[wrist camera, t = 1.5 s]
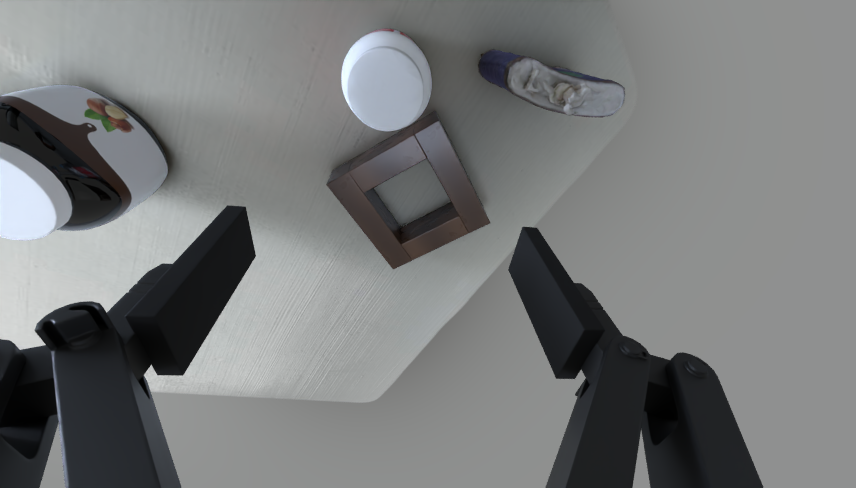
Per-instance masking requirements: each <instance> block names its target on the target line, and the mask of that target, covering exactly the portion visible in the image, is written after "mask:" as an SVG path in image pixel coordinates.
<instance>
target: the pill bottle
mask: <svg viewBox="0 0 856 488" xmlns="http://www.w3.org/2000/svg"><path fill="white" fill-rule="evenodd" d="M341 81H342V89H343V93H344V96H345V99H346V101H347V103H348V105H349V107H350V108H351V110H352V111H353V112H354V114H355V115H356V116H357V117H358V118H359V119H360V120H361V121H362V122H363V123H365V124H366V125H368V126H369V127H371V128H373V129H376V130H380V131H395V130H399V129H401V128H404V127H406V126H408V125H410V124H412V123H413V122H414V121H416V120H417V119H418V118H419V117H420V116H421V115H422V113H423V112H424V110H425V109H426V107H427V105H428V102H429V99H430V96H431V90H432V77H431V71H430V67H429V64H428V62H427V59H426V58H425V56H424V54H423V52H422V51H421V49H420V48H419V47H418V46H417V45H416V44H415V42H414V41H413V40H412V39H411V38H410V37H409V36H407V35H406V34H404V33H402V32H400V31H397V30H394V29H379V30H375V31H373V32H371V33H369V34H367V35H365V36H363V37H362V38H360V39H359V40H358V41H357V42H356V43H355V44H354V45H353V46H352V47H351V49H350V50H349V52H348V54H347V56H346V58H345V60H344V63H343V68H342V76H341Z"/></svg>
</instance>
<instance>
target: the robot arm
mask: <svg viewBox="0 0 856 488" xmlns="http://www.w3.org/2000/svg"><path fill="white" fill-rule="evenodd" d="M255 257H256V254H255V250H254V245H253V240H252V235H251V230H250V226H249V221H248V216H247V211H246V207H241V206H226V208H225V209H224V210H223V211H222V212H221V213H220V214H219V215H218V216H217V217H216V218H215V219H214V220H213V222H212V223H211V224H210V225H209V226H208V227H207V228H206V229H205V230H204V231H203V232H202V233H201V234H200V235H199V237H198V238H197V239H196V240H195V241H194V242H193V243H192V244H191V245H190V246H189V247H188V248H187V249H186V251H185V252H184V253H183V254H182V255H181V256H180V257H179V258H178V259H177V260H176V261H175V262H174V263H173V264H161V265H159V266H157V267H156V268H154V269H152V270H150V271H149V272H147V273H146V274H145V275H144V276H143V277H142V278H141V279H140V280H139V281H138V282H137V284H135V285H134V286H133V287H132V288H131V289H130V290H129V293H126V294H125V295H124V296H123V297H122V298H121V299H120V300H119V301H118V302H117V303H116V304H115V305H114V306H113V307H112V308H111V309H110V310H109V311H108V312H107V313H106V311H105V310H104V308H103V307H102V306H101V304H99V303H96V302H78V303H74V304H70V305H67V306H64V307H61V308H59V309H56V310H54V311H53V312H51V313H49V314H48V315H46V316H45V317H44V318H43V319H42V320H40V321H39V322H38V323H37V326H36V328H35V332H36V333H37V334H38V335H39V337H40V338H41V339H42V340H43V342H44V343H45V344H46V345H45V346H39V347H34V348H29V349H23V350H19V349H18V347H17V346H16V345H15V344H14V343H12V342H11V341H10V340H1V339H0V488H39V487H40V483H41V480H42V477H43V473H44V470H45V466H46V463H47V460H48V456H49V453H50V449H51V445H52V442H53V439H54V435H55V432H56V428H57V425H58V422H59V431H60V441H61V451H62V461H63V470H64V480H65V488H181V485H180V481H179V478H178V475H177V472H176V469H175V466H174V463H173V460H172V457H171V454H170V451H169V448H168V445H167V442H166V438H165V435H164V432H163V429H162V426H161V423H160V420H159V417H158V414H157V410H156V407H155V404H154V401H153V398H152V395H151V392H150V389H149V386H148V383H147V380H146V378H145V377H144V374H145V372H146V371H147V370H148V368H149V367H150V365H151V364H152V366H153V368H154V370H155V372H156V373H157V375H184V373H185V371H186V370H187V368H188V366H189V365H190V363H191V362H192V360H193V358H194V357H195V355H196V353H197V352H198V350H199V348H200V347H201V345H202V343H203V342H204V340H205V339H206V337H207V335H208V334H209V332H210V330H211V329H212V327H213V325H214V324H215V322H216V321H217V319H218V317H219V316H220V314H221V312H222V311H223V309H224V307H225V306H226V304H227V302H228V301H229V299H230V298H231V296H232V294H233V293H234V291H235V289H236V288H237V286H238V284H239V283H240V281H241V280H242V278H243V276H244V275H245V273H246V271H247V270H248V268H249V266H250V265H251V263H252V261H253V260H254V258H255ZM509 272H510V274H511V277H512V279H513V281H514V284H515V285H516V288H517V290H518V293H519V295H520V297H521V299H522V302H523V304H524V306H525V309H526V311H527V313H528V315H529V318H530V320H531V322H532V324H533V327H534V329H535V331H536V334H537V336H538V338H539V340H540V343H541V345H542V347H543V349H544V352H545V354H546V356H547V358H548V361H549V363H550V365H551V368H552V370H553V372H554V374H555V377H556V378H557V379H575V378H576V376H577V375H578V373H579V372H580V370H581V369H582V371H583V373H584V375H585V377H586V379H585V380H584V382H583V383H582V385H581V386H580V388H579V389H578V391H577V392H576V394H575V395H576V396H578V397H577V400H576V403H575V406H574V409H573V412H572V414H571V417H570V420H569V423H568V426H567V428H566V432H565V434H564V437H563V440H562V443H561V445H560V448H559V451H558V454H557V457H556V460H555V462H554V465H553V468H552V471H551V474H550V476H549V479H548V482H547V485H546V488H632V486H633V480H634V473H635V466H636V460H637V453H638V446H639V439H640V432H641V429H642V436H643V442H644V449H645V455H646V462H647V468H648V474H649V480H650V487H651V488H763V485H762V483H761V480H760V478H759V476H758V474H757V471H756V468H755V466H754V464H753V461H752V459H751V456H750V454H749V451H748V449H747V447H746V444H745V442H744V439H743V437H742V434H741V432H740V430H739V427H738V425H737V422H736V420H735V418H734V415H733V413H732V410H731V408H730V405H729V403H728V401H727V398H726V396H725V393H724V391H723V388H722V386H721V384H720V381H719V379H718V376H717V375H716V373H715V372H714V370H713V369H712V368H711V367H710V366H709V365H708V364H707V363H705V362H704V361H702V360H701V359H699V358H698V357H695V356H693V355H691V354H687V353H677V354H676V355H675V356H674V357H673V358H672V359H671V360H667V359H664V358H660V357H656V356H653V355H650V354H649V353H648V351H647V350H646V349H645V348H644V347H643V346H642V345H641V344H640V343H638V342H637V341H635V340H633V339H631V338H629V337H626V336H623V335H622V334H621V333H620V331H619V330H618V328H617V327H616V326H615V324H614V323H613V321H612V320H611V318H610V317H609V316H608V314H607V313H606V311H605V310H603V307H602V306H601V304H600V303H598V300H597V299H596V297H595V296H594V295H593V293H592V292H591V291H590V290H589V289H587V288H586V287H585V286H584V285H583V284H581V283H573V281H572V280H571V278H570V277H569V275H568V274H567V272H566V271H565V269H564V268H563V266H562V265H561V263H560V262H559V260H558V259H557V257H556V256H555V254H554V253H553V251H552V250H551V248H550V247H549V245H548V244H547V242H546V241H545V239H544V238H543V236H542V235H541V233H540V232H539V230H538V229H537V228H532V227H522V230H521V233H520V236H519V239H518V242H517V245H516V248H515V252H514V255H513V257H512V260H511V263H510V266H509Z"/></svg>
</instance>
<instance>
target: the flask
mask: <svg viewBox="0 0 856 488" xmlns="http://www.w3.org/2000/svg"><path fill="white" fill-rule="evenodd" d="M478 68H479V73H480V74H481V76H482V77H484V78H485V79H486V80H487V81H489V82H490V83H491V82H492V83H493V84H496V85H498V86H499V87H501V88H504V89H506V90H508V91H509V92H511V93H512V94H514V95H516V96H517V97H519V98H521V99H523V100H525V101H527V102H530V103H532V104H534V105H535V106H538V107H541V108H543V109H547V110H550V111H554V112H558V113H563V114H567V115H575V116H584V117H605V116H611V115H613V114H614V113H615V112H616V111H617V110H618V109H619V108H620V107H621V106H622V104H623V103H624V97H625V91H624V87H623V86H622V85H620V84H619V83H617V82H614V81H612V80H604V79H600V78H596V77H593V76H589V75H585V74H582V73H578V72H574V71H571V70H569V69H564V68H561V67H558V66H556V67H549V66H546V65H544V64H543V63H541V62H539V61H538V60H536V59H534V58H531V57H525V56H519V55H515V54H513V53H507V52H502V51H499V50H495V49H492V50H489V51H487V52H485V53H484V54H481V59H480V60H479V64H478Z"/></svg>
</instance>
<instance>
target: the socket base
mask: <svg viewBox="0 0 856 488" xmlns="http://www.w3.org/2000/svg"><path fill="white" fill-rule="evenodd" d="M427 158H428V160H429V162H430V164H431V166H432V167H433V169H434V171H435V173H436V175H437V176H438V178H439V180H440V182H441V184H442V185H443V187H444V189H445V191H446V193H447V194H448V196H449V198H450V200H451V203H449V204H447V205H445V206H443V207H441V208H439V209H437V210H435V211H433V212H431V213H429V214H427V215H425V216H424V217H422V218H420V219H418V220H416V221H414V222H412V223H410V224H408V225H406V226H404V227H402V228H400V226H399V225H398V223H397V222H396V221H395V219H394V218H393V216H392V215H391V213H390V212H389V211H388V209H387V208H386V206H385V205H384V203H383V202H382V201H381V199H380V198H379V196H378V195H377V193H376V192H375V191H374V189H373V188H374V187H376V186H377V185H379V184H381V183H383V182H385V181H386V180H388V179H390V178H392V177H394V176H396V175H397V174H399V173H401V172H403V171H405V170H407V169H408V168H410V167H412V166H414V165H416V164H418V163H419V162H421V161H423V160H425V159H427ZM327 186H328V187H329V188H330V190H331V191H332V192H333V194H334V195H335V196H336V197H337V199H338V200H339V201H340V202H341V204H342V205H343V206H344V207H345V209H346V210H347V211H348V213H349V214H350V215H351V216H352V218H353V219H354V220H355V221H356V223H357V224H358V225H359V227H360V228H361V229H362V230H363V232H364V233H365V234H366V235H367V237H368V238H369V239H370V240H371V242H372V243H373V244H374V246H375V247H376V248H377V249H378V251H379V252H380V253H381V254H382V256H383V257H384V258H385V260H386V261H387V262H388V263H389V265H390V266H391V267H392V268H393V269H395V268H397V267H399V266H401V265H403V264H405V263H408V262H410V261H412V260H414V259H416V258H418V257H420V256H422V255H424V254H426V253H428V252H430V251H433V250H435V249H437V248H439V247H441V246H443V245H445V244H447V243H449V242H451V241H453V240H456V239H458V238H460V237H462V236H464V235H466V234H468V233H470V232H472V231H475V230H477V229H479V228H481V227H483V226H485V225H487V224H489V223H490V221H489V219H488V217H487V214H486V212H485V210H484V208H483V206H482V204H481V202H480V200H479V198H478V196H477V194H476V192H475V190H474V188H473V186H472V184H471V182H470V180H469V178H468V175H467V173H466V171H465V169H464V167H463V165H462V163H461V161H460V159H459V157H458V155H457V153H456V151H455V149H454V147H453V145H452V143H451V141H450V139H449V137H448V135H447V133H446V131H445V129H444V127H443V125H442V123H441V121H440V119H439V117H438V115H437V113H436V111H435V112H433V113H431V114H429V115H428V116H426V117H424V118H422V119H421V120H419V121H417V122H416V123H414V124H413V125H410V126H409V127H407V128H405V129H403V130H402V131H400V132H398V133H397V134H395V135H393V136H391V137H390V138H388V139H386V140H384V141H383V142H381V143H379V144H378V145H376V146H374V147H372V148H371V149H369V150H367V151H365V152H364V153H362V154H360V155H359V156H357V157H355V158H353V159H352V160H350V161H348V162H346V163H345V164H343V165H341V166H340V167H338V168H336V169H334V170H333V171H332V173H331V175H330V178H329V180H328V182H327Z"/></svg>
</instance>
